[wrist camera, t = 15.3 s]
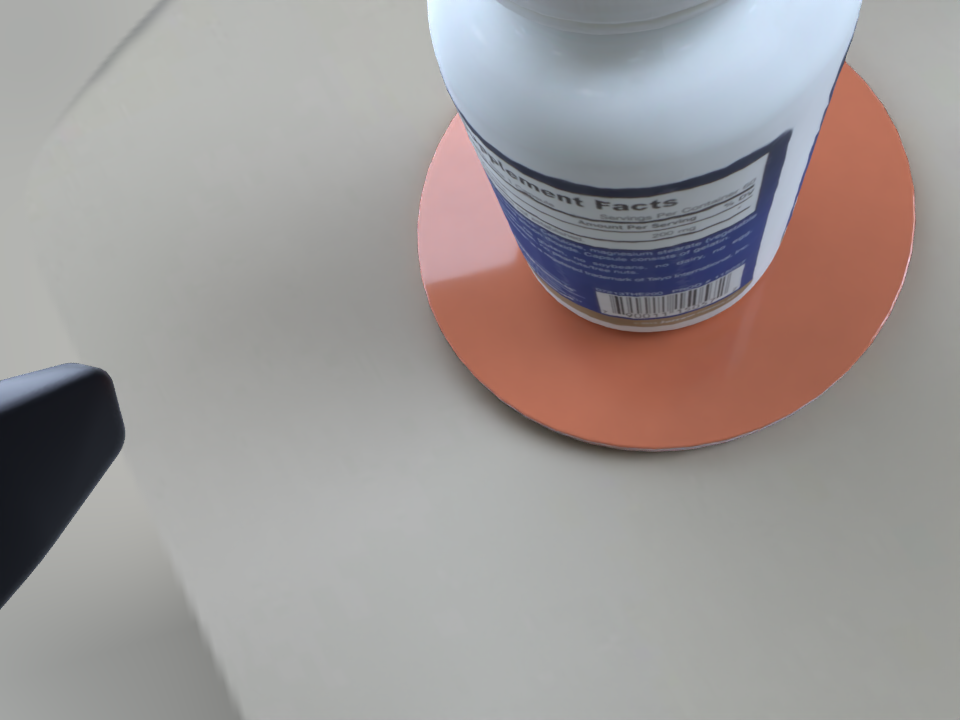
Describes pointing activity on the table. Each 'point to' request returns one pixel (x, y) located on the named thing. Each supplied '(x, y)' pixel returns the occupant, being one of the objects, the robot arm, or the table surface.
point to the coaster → (692, 349)
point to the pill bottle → (644, 139)
